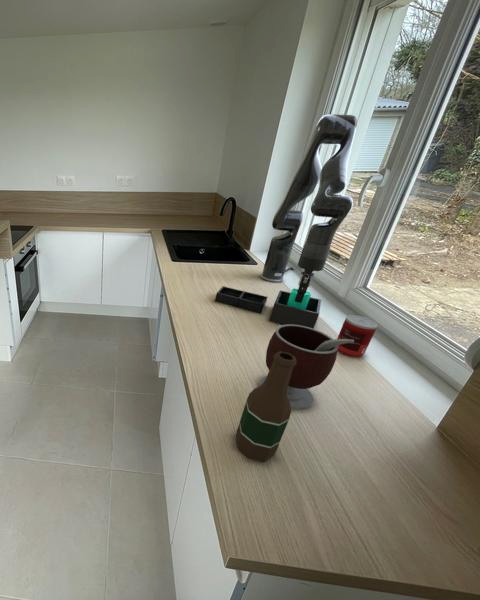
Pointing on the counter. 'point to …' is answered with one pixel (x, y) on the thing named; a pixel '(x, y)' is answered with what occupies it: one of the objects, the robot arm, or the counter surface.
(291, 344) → the mate gourd
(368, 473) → the counter surface
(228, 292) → the black divided tray
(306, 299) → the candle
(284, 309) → the black open box
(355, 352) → the canned food
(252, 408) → the beer bottle
